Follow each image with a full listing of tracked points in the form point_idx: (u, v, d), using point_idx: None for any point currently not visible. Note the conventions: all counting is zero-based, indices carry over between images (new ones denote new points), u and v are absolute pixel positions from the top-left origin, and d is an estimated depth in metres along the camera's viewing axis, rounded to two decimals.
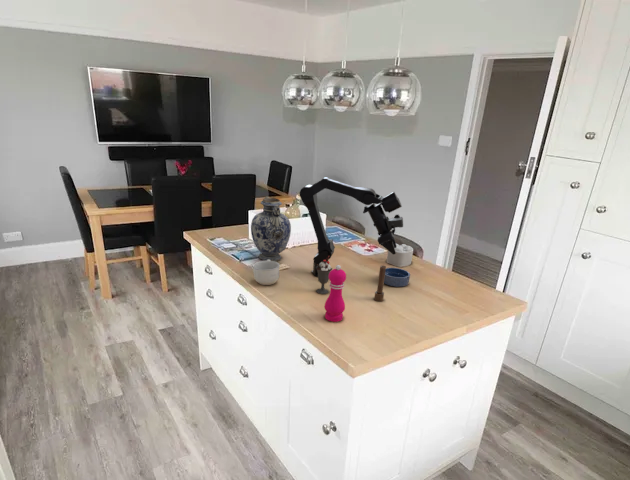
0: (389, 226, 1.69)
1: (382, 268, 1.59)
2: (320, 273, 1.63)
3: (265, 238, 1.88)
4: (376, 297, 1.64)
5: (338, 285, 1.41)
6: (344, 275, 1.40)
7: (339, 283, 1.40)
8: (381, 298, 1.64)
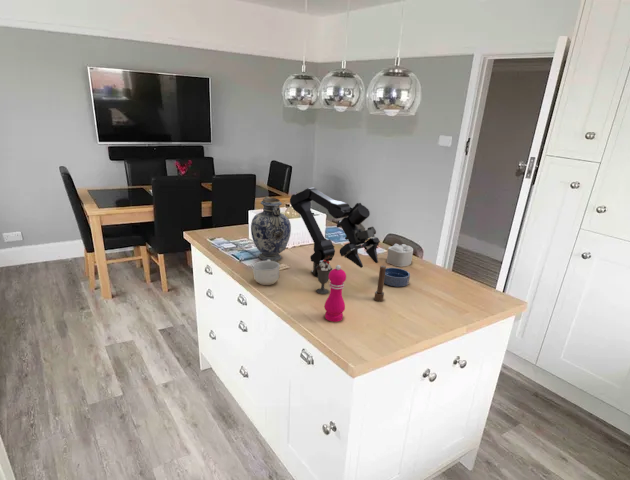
0: (356, 238, 1.62)
1: (382, 268, 1.59)
2: (320, 273, 1.63)
3: (265, 238, 1.88)
4: (376, 297, 1.64)
5: (338, 285, 1.41)
6: (344, 275, 1.40)
7: (339, 283, 1.40)
8: (381, 298, 1.64)
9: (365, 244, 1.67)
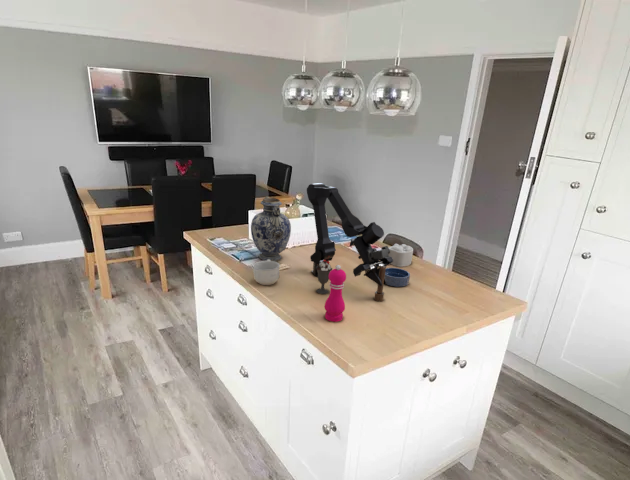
0: (370, 258, 1.60)
1: (382, 268, 1.59)
2: (320, 273, 1.63)
3: (265, 238, 1.88)
4: (376, 297, 1.64)
5: (338, 285, 1.41)
6: (344, 275, 1.40)
7: (339, 283, 1.40)
8: (381, 298, 1.64)
9: None
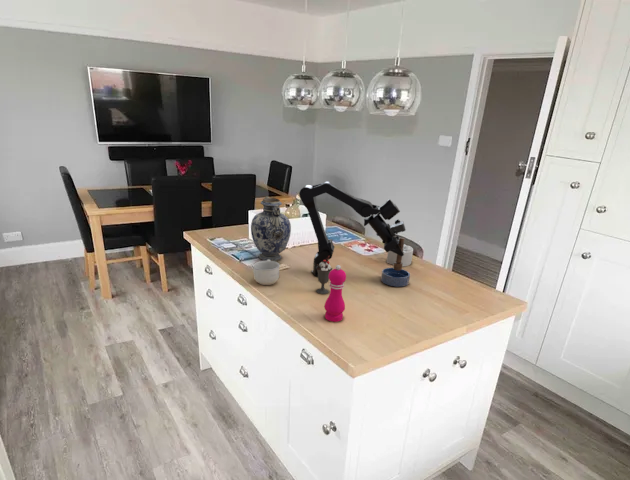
0: (392, 233, 1.72)
1: (403, 239, 1.75)
2: (320, 273, 1.63)
3: (265, 238, 1.88)
4: (398, 267, 1.79)
5: (338, 285, 1.41)
6: (344, 275, 1.40)
7: (339, 283, 1.40)
8: (401, 267, 1.80)
9: None
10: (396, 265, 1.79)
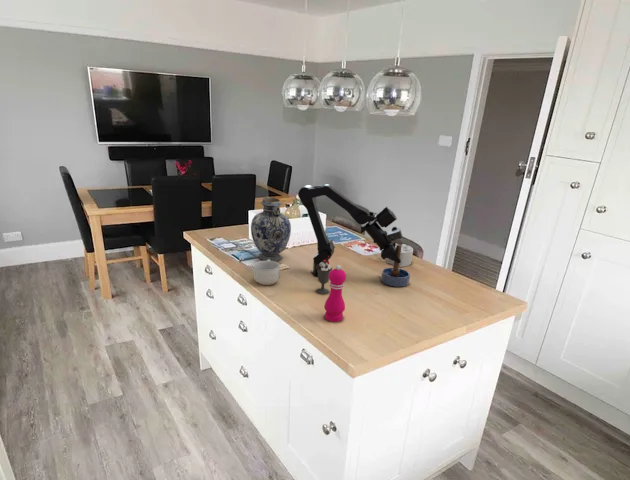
0: (389, 240, 1.72)
1: (400, 247, 1.75)
2: (320, 273, 1.63)
3: (265, 238, 1.88)
4: (395, 274, 1.79)
5: (338, 285, 1.41)
6: (344, 275, 1.40)
7: (339, 283, 1.40)
8: (398, 274, 1.80)
9: None
10: (393, 272, 1.79)
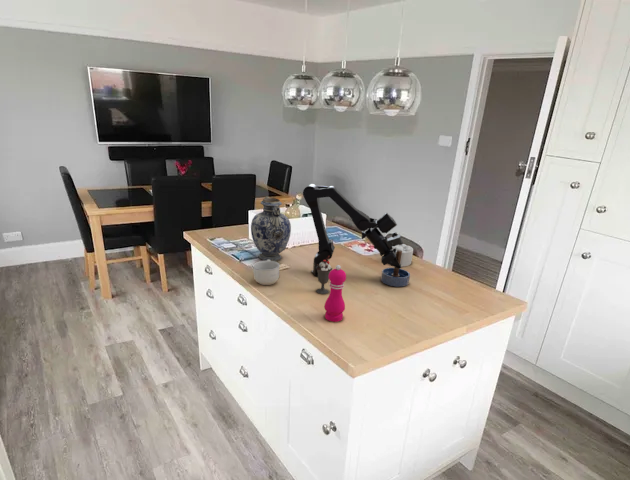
0: (389, 246, 1.75)
1: (400, 252, 1.77)
2: (320, 273, 1.63)
3: (265, 238, 1.88)
4: None
5: (338, 285, 1.41)
6: (344, 275, 1.40)
7: (339, 283, 1.40)
8: None
9: None
10: None
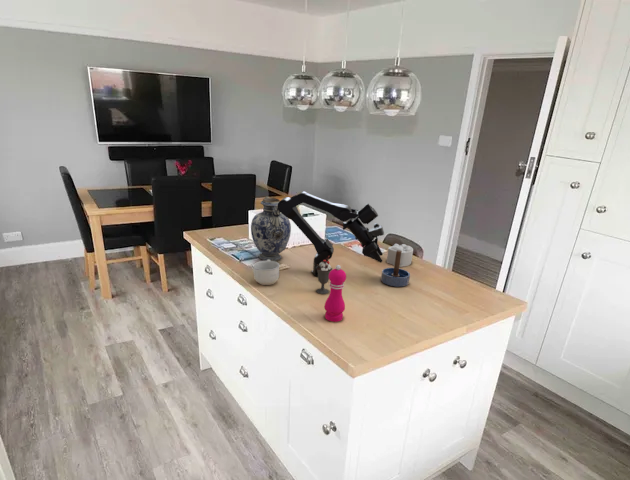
0: (370, 236, 1.74)
1: (400, 252, 1.77)
2: (320, 273, 1.63)
3: (265, 238, 1.88)
4: None
5: (338, 285, 1.41)
6: (344, 275, 1.40)
7: (339, 283, 1.40)
8: None
9: None
10: None
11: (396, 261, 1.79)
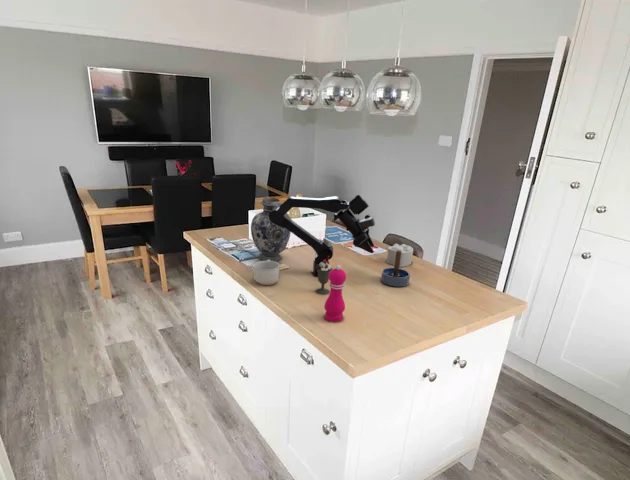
0: (361, 227, 1.74)
1: (400, 252, 1.77)
2: (320, 273, 1.63)
3: (265, 238, 1.88)
4: None
5: (338, 285, 1.41)
6: (344, 275, 1.40)
7: (339, 283, 1.40)
8: None
9: None
10: None
11: (396, 261, 1.79)
